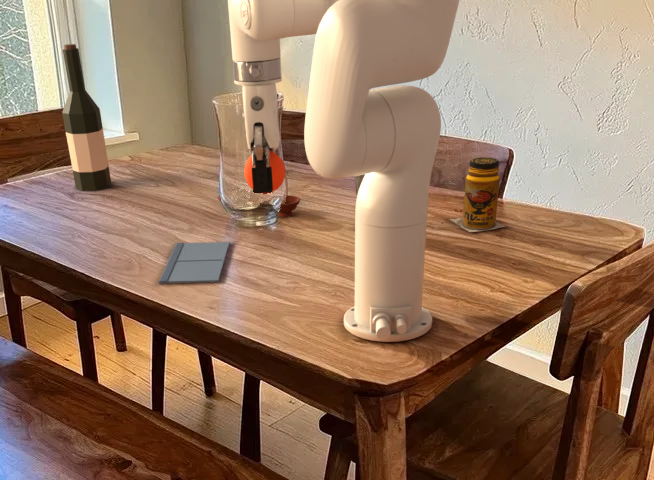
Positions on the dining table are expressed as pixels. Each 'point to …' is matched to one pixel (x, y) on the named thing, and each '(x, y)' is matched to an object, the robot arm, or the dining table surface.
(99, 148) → the wine bottle
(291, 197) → the pottery
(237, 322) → the dining table surface
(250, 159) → the clementine
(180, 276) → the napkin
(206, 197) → the dining table surface
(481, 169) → the condiment
